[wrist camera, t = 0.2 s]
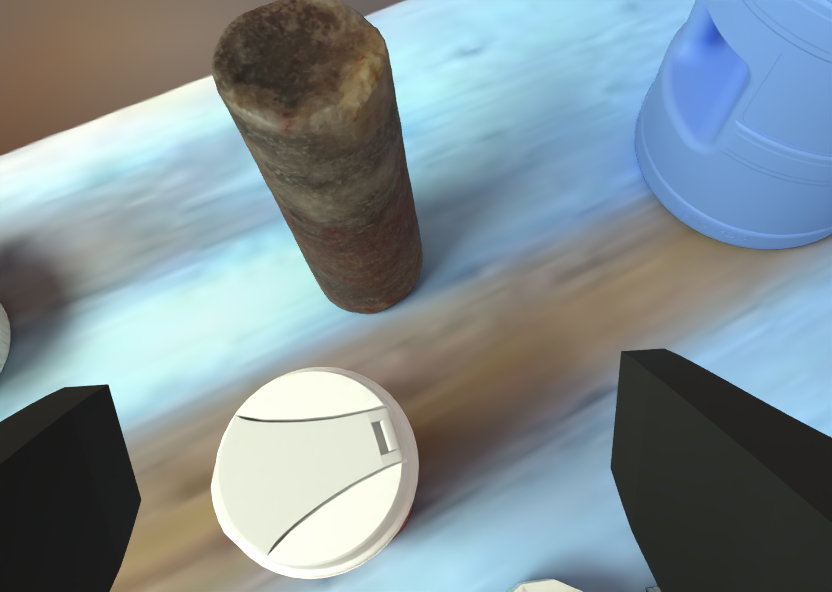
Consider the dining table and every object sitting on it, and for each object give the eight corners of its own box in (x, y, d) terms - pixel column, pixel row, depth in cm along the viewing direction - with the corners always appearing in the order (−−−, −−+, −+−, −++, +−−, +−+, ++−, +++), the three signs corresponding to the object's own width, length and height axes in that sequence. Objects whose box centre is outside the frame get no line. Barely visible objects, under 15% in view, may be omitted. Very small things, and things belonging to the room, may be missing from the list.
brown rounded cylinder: (308, 225, 46) (203, -1, 27) (411, 204, 46) (376, -35, 27) (323, 326, 43) (217, 151, 24) (433, 303, 43) (410, 112, 24)
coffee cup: (408, 407, 41) (379, 330, 27) (452, 542, 38) (446, 534, 24) (278, 452, 40) (180, 397, 26) (313, 592, 37) (222, 615, 23)
